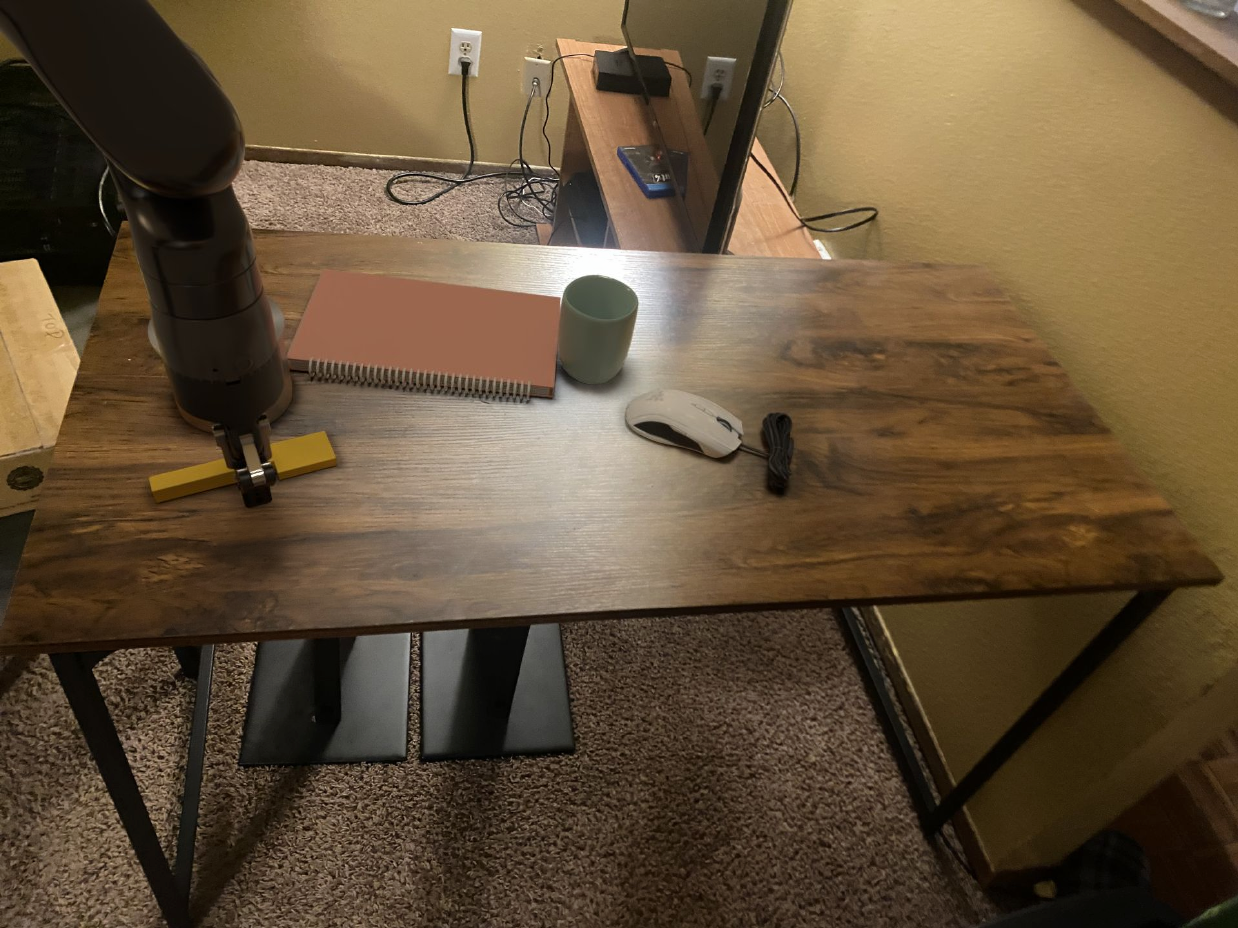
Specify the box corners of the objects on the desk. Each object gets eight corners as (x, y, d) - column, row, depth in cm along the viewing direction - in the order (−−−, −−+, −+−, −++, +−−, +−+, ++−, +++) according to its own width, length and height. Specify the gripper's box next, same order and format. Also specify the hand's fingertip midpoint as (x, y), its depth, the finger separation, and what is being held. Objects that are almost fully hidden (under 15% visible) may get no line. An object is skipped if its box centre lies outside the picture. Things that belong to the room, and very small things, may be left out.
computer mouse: (635, 385, 92) (641, 358, 89) (795, 433, 91) (807, 406, 88) (611, 446, 85) (617, 418, 82) (784, 498, 84) (796, 471, 81)
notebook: (284, 377, 85) (282, 362, 83) (324, 281, 96) (322, 266, 95) (551, 406, 88) (553, 392, 86) (559, 309, 99) (560, 295, 98)
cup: (637, 369, 94) (652, 296, 87) (599, 405, 89) (612, 331, 82) (580, 338, 96) (591, 265, 89) (540, 372, 91) (548, 297, 84)
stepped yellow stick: (158, 511, 72) (153, 499, 70) (151, 480, 74) (146, 468, 72) (337, 465, 78) (335, 453, 77) (325, 437, 80) (324, 426, 79)
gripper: (143, 296, 61) (194, 458, 73) (179, 415, 54) (228, 572, 66) (252, 279, 64) (282, 437, 76) (299, 389, 57) (324, 544, 69)
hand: (257, 500), depth 71 cm, fingers closed
